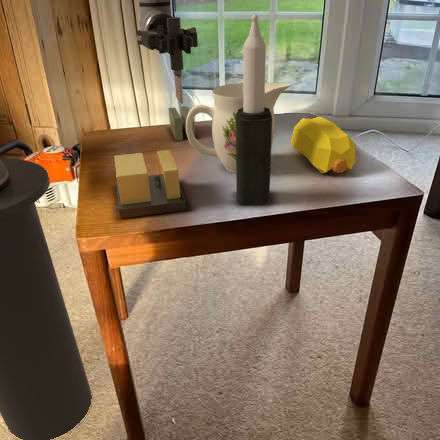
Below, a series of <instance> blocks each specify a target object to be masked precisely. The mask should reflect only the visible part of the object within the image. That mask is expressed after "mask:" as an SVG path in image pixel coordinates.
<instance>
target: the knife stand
mask: <svg viewBox="0 0 440 440" xmlns="http://www.w3.org/2000/svg"><path fill="white" fill-rule="evenodd" d="M179 108H180V114H179V112H178V110H177V108H176V107H168V118H169V128H170V131H171V133H172V135H173V137H174V139H175V141H184V135H183V132H184V133H185V135H186V136H187V133H186V119H187V115H188V113H189V111H190V110H191V109H190V108H189V107H188V106H180V107H179ZM192 131H193V134H194V137H195V138H196V126H195V118H194V119H193V122H192Z"/></svg>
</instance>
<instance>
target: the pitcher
mask: <svg viewBox="0 0 440 440" xmlns="http://www.w3.org/2000/svg"><path fill="white" fill-rule="evenodd" d="M291 86H292V83H290V82H265V96H264V107H266V108H268V109H270V112H271V115H272V138H271V148H272V147H273V144H274V137H275V131H276V129H275V128H276V121H275V120H276V118H275V112H274V111H275V110H274V108H275V105H276V102H277V100H278V99H279V97H280V95H281V94H282V93H283V92H285V90H287V89H290V88H291ZM211 93H212V98H213V102H214V106H212V107H211V106H208V105H205V104H197V105H194V106H193V107H192V108H191V109H189V110H190V111H189V113H188V115H187V119H186V133H187V135H186V137H187V139H188V141H189V144H190V145H191V146H192V147H193V148H194V149H195V150H196V151H197V152H199V153H201V154H202V155H206V156H211V157H214V158H215V157H216V158H218V159H219V161H220V163H221V165H222V166H223V167H224V168H225V169H226V171H228V172H231V173H235V174H236V113H237V112H238V109H240V108H243V82H239V83H238V82H237V83H229V84H223V85H219V86H217V87H215V88H213V89H212V91H211ZM198 114H206V115H208V116H209V117H210V118H211V137H212V141H213V142H212V143H213V145H214V146H213V147H208V146H206V145H204V144H202V143H201V142H200V141H198V140H197V138H196V136H195V137H194V134H193V131H192V122H193V119H194V120H195V117H196V116H197V115H198Z"/></svg>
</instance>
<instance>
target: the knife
mask: <svg viewBox="0 0 440 440" xmlns="http://www.w3.org/2000/svg"><path fill="white" fill-rule="evenodd" d="M167 28H168V35H169V36H170V37H171V38H172V39H173V49H174V55H169V62H170V63H169V64H170V70H171V71H173V76H174V88H175V97H176V99H177V101H178V102H179V104H180V105H182V104H184V95H183V82H182V75H183V72H182V71H183V70H184V69H185V68H184V54H183V52H184V51H183V50H182V37H181V28H182V24H181V17H179V16H172V17H170V18H167Z"/></svg>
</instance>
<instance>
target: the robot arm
mask: <svg viewBox="0 0 440 440" xmlns="http://www.w3.org/2000/svg"><path fill="white" fill-rule="evenodd" d="M171 3H172V2H171V0H138V4H139V5H138V7H139V16H140V17H139V19H140V20H139V27H140V28H139V29H137V30H136V39H137V45H139V46H143V47H145V48H147V49H148V50H151V51H154V50H156V51H158V54H160V55H161V54H162V55H164V54H166V53H167V54H168V55H169V56H170V55H174V49H173V39H172V38H171V37H170V36H169V35H168V28H167V18H170V17H173V16H172V7H171ZM181 37H182V52H184V53H185V54H186V55H191V54H192V48H197V47H199V41H198V32H197V27H195V26H193V27H190V28H186V29H185V28H182V27H181ZM1 159H2V158H0V191H1V190H2V189H4V188H5V187H6V186H7V185H8V184H9V182H10V177H9V174H8V171H7V168H6V167H5V165H4V164H3V162H2V161H1Z"/></svg>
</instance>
